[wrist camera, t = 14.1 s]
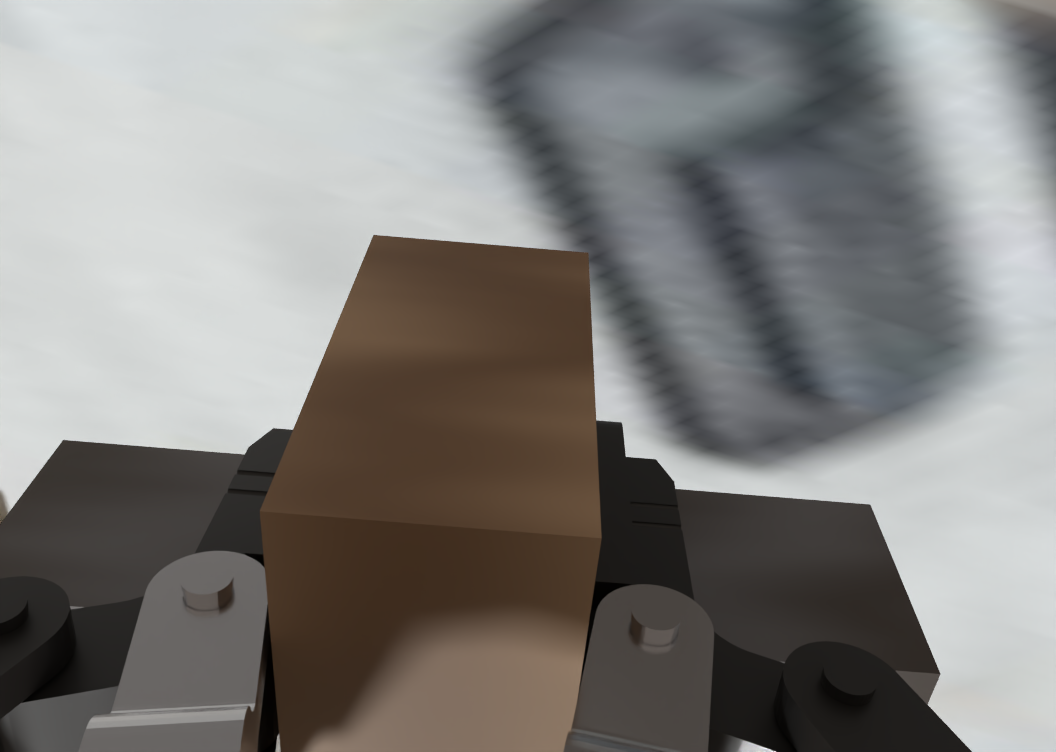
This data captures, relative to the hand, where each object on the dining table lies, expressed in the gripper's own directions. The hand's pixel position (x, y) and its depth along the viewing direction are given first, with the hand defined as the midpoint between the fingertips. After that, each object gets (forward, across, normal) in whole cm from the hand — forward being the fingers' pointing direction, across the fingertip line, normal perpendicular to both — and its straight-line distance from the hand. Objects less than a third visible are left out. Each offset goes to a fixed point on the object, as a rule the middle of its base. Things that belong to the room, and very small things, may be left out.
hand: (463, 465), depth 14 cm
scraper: (+1, 0, -1) cm, 2 cm away
